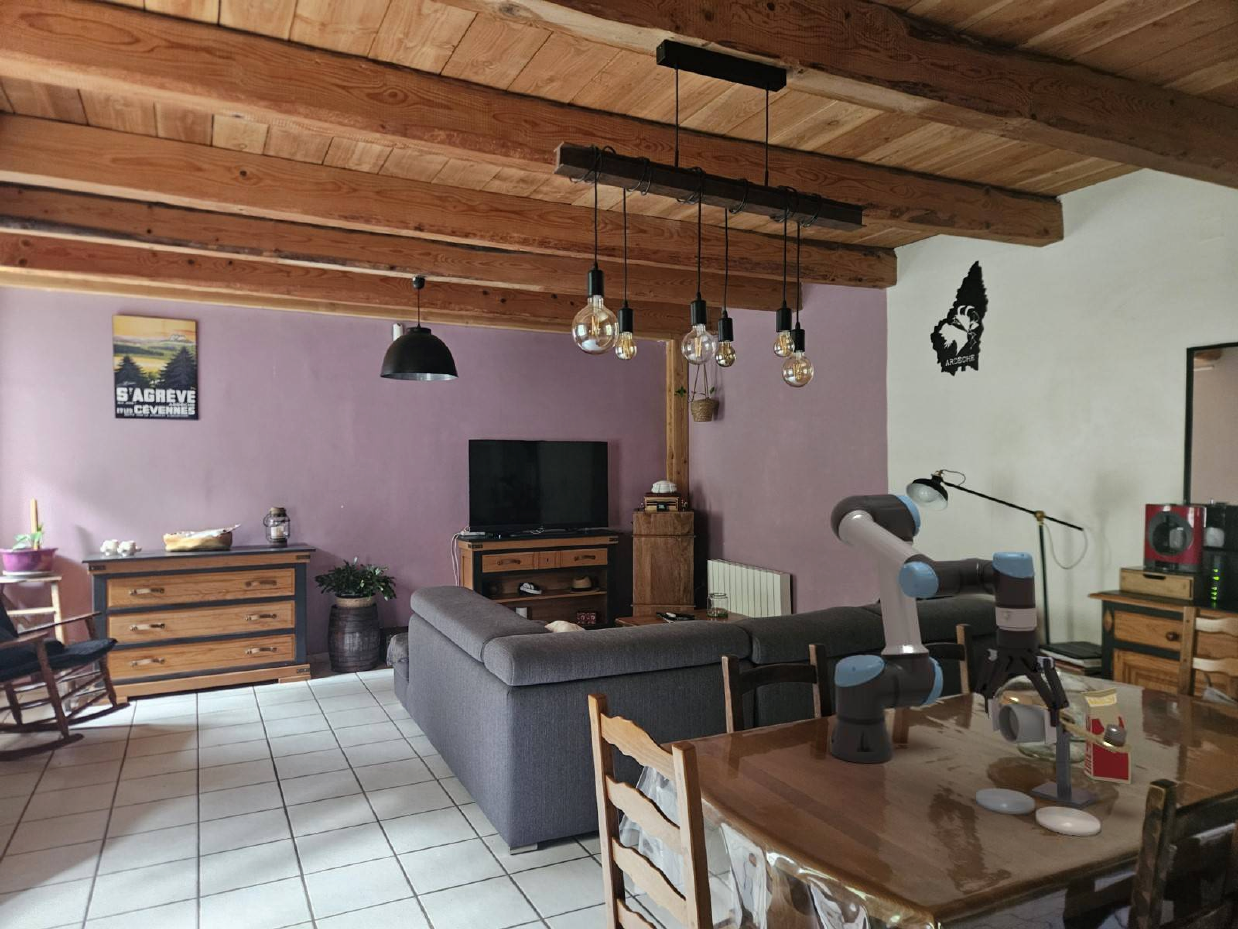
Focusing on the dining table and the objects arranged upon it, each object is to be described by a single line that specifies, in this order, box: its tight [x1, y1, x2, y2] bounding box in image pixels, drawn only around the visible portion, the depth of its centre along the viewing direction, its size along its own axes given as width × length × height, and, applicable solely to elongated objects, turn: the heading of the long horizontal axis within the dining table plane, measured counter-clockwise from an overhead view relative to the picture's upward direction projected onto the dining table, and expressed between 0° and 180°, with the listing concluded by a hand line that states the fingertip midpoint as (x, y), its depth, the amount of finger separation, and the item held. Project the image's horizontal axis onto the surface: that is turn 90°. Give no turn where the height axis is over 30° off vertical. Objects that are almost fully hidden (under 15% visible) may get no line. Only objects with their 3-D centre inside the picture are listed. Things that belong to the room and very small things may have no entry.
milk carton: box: [1080, 687, 1132, 785], centre depth 181 cm, size 9×9×20 cm
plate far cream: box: [1035, 806, 1101, 837], centre depth 156 cm, size 11×11×1 cm
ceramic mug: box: [998, 703, 1046, 745], centre depth 164 cm, size 11×8×8 cm
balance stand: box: [1030, 715, 1099, 810], centre depth 169 cm, size 10×8×16 cm
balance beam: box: [1002, 690, 1131, 753], centre depth 169 cm, size 26×6×5 cm, turn 36°
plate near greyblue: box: [975, 788, 1036, 815], centre depth 166 cm, size 11×11×1 cm
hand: (1022, 736), depth 163 cm, fingers closed on ceramic mug, 11 cm apart
